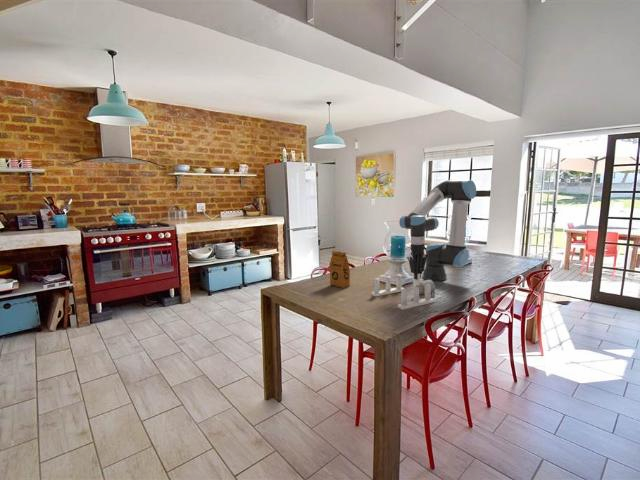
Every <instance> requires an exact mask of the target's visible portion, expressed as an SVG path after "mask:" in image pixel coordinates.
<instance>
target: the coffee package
mask: <svg viewBox="0 0 640 480" xmlns="http://www.w3.org/2000/svg"><path fill="white" fill-rule="evenodd" d="M329 283H330V285H332V286H336V287H337V288H342V289H346V288H349V287H350V286H351V271H350V263H349V260H348V256H347V254H346V252H342V251H338V250H337V251H336V250H332V251H331V257H330V260H329Z"/></svg>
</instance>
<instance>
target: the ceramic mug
mask: <svg viewBox="0 0 640 480" xmlns="http://www.w3.org/2000/svg"><path fill="white" fill-rule="evenodd" d="M425 284H430V285H431V295H430V298H432V297H434V296H436V291H435V290H436V285H435V283H434V281H433V280H427V279H425V280H420V285H416V284H415V285H416V286H417V287H419V295H425Z"/></svg>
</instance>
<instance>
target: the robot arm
mask: <svg viewBox="0 0 640 480" xmlns="http://www.w3.org/2000/svg"><path fill="white" fill-rule="evenodd" d="M476 196H477V186H476V184H475V182H474V181H473V180H472V179H448V180H444V181H442V182H440V183H439V184H437V185H436V186H434V187H432V189H431V190H430V192H429V195H427V196H426V197H425V198H424V200H421V202H420V203H419V204H418V205H417V206H416V207H415V208H414V209H413V210H412V211H410V213H409V214H408V215H403V216H401V217H400V218H399V223H398V224H399V226H400V228H402V229H406V230H410V243H411V244H410V250H411V251H410V252H411V253H410V255H409V256H407V260H408V262H409V263H408V264H409V269H410V273H412V274H413V279H414V285H420V282H421V278H423V279H425V280H432V281H433V282H438V281H439V282H441V281H446V280H447V277H448V276H447V275H448V274H447V273H446V269H445V266H450V267H454V268H455V267H456V268H457V267H458V268H462V267H465V266H466V264H467V263H468V261H469V258H470V251H469V249H467V245H466V244H465V237H466V236H465V235H466V229H467V228H466V226H467V216H468V209H469V205H470V203H472V199H474V198H476ZM446 199H450V202H451V203H452V212H451V221H450V229H449V238H448V239H449V240H448V242H447V243H446V244H445V243H440V242H439V243H430V244H428V245H426V244H425V242H426V239H425V238H426V232H429V231H431V232H432V231H434V230H436V229H438V228H439V224H440V221H439V219H438V218H436V217H435V216H428V217H426V216H427V215H428V214H429V213H430V212H431V211H432V210H433V209H434V207H435V206H437V205H438V203H442V201H444V200H446Z"/></svg>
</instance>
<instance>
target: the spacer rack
mask: <svg viewBox="0 0 640 480" xmlns="http://www.w3.org/2000/svg"><path fill="white" fill-rule="evenodd" d="M402 277H403V275H402V274H396V287H391V285H392V279H391V278H392V277H391V276H388V275H387V276H385V289H381V290H380V281H381V280H380V278H379V277H377V278H374V289H373V290H374V291H372V292H371V296H373V297H375V298H376V297H380V296H385V295H390V294H395V293H399V292H401V293H400V294H401V295H400V303H399V304H397V308H398V309H400V310H406V309H411V308H414V307H419V306H423V305H427V304H432V303H434V301H435V300H434V299H433V298H432V297H430V295H432V293H431V285H430V284H425V294H424V298H422V299H421V298H420V294H419V287H417V286H413V292H412V293H413V294H412V295H413V296H412V297H413V298H412V299H413V300H412V301H408V289H407V288H404V287H402V286H403V285H402V281H403V280H402Z"/></svg>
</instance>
